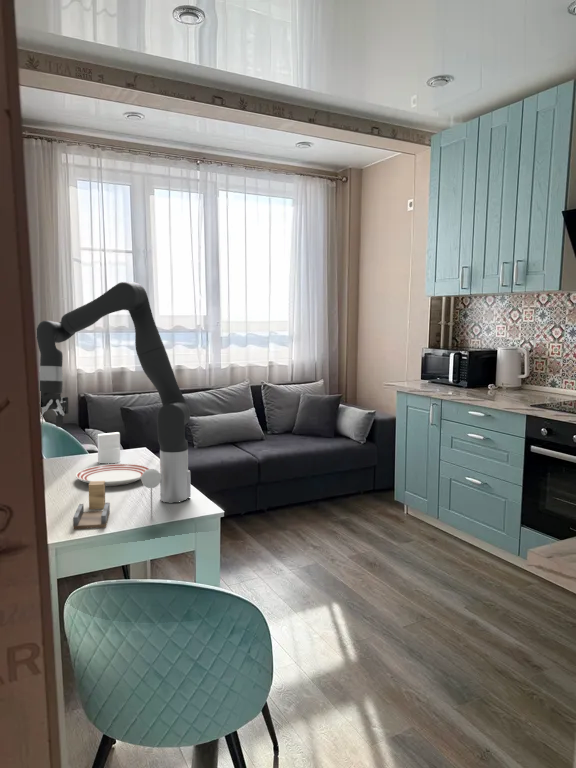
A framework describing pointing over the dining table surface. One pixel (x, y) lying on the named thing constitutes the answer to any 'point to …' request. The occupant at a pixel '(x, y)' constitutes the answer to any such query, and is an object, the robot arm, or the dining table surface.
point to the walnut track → (91, 518)
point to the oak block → (96, 494)
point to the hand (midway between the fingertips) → (49, 427)
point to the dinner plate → (112, 474)
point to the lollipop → (151, 480)
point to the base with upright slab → (109, 447)
